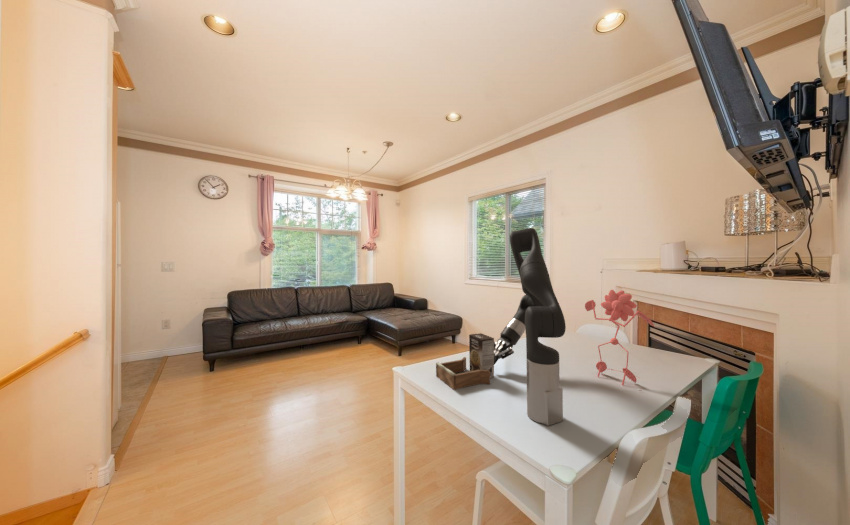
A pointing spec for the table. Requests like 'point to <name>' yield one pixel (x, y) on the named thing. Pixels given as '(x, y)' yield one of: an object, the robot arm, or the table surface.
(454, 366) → the bay
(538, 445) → the table surface
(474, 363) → the coffee box
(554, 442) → the table surface
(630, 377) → the pink flower stick figure
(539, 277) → the robot arm
